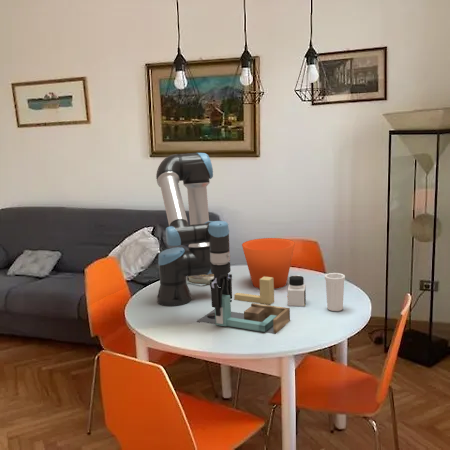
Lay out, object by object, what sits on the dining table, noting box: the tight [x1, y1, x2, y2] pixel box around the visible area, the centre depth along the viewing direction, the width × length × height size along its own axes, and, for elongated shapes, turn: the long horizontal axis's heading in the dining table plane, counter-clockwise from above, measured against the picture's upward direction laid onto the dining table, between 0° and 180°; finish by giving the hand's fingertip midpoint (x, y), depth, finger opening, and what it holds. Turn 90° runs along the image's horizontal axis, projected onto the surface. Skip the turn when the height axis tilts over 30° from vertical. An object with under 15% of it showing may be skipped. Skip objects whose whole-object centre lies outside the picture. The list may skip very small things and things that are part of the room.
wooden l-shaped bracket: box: [250, 302, 291, 334], centre depth 203 cm, size 16×13×6 cm
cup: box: [324, 272, 346, 312], centre depth 215 cm, size 8×8×14 cm
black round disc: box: [206, 313, 215, 319], centre depth 214 cm, size 6×6×1 cm
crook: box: [214, 294, 277, 333], centre depth 203 cm, size 20×12×11 cm, turn 61°
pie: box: [187, 274, 214, 287], centre depth 269 cm, size 28×27×5 cm
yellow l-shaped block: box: [233, 277, 275, 306], centre depth 230 cm, size 18×4×11 cm, turn 61°
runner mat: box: [196, 308, 282, 335], centre depth 208 cm, size 34×14×1 cm, turn 61°
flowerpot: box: [241, 237, 296, 290], centre depth 252 cm, size 25×25×20 cm
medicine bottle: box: [286, 274, 307, 307], centre depth 224 cm, size 7×7×12 cm
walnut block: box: [243, 306, 265, 322], centre depth 205 cm, size 6×6×5 cm
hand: (223, 320), depth 204 cm, fingers closed on crook, 4 cm apart
